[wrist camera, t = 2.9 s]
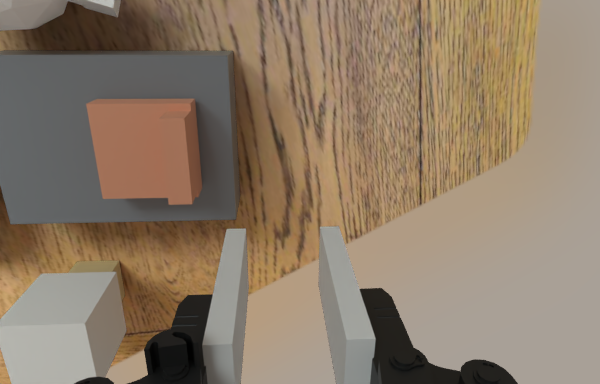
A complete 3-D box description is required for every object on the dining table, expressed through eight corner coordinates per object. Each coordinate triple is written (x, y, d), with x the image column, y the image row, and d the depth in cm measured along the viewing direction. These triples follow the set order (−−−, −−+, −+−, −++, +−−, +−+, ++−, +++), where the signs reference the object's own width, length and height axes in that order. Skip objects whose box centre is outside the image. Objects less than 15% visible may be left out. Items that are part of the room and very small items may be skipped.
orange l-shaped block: (111, 189, 34) (89, 212, 30) (97, 98, 31) (70, 111, 27) (202, 187, 34) (192, 210, 30) (195, 98, 32) (183, 110, 28)
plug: (74, 306, 44) (14, 393, 34) (61, 251, 42) (-7, 326, 31) (138, 304, 44) (99, 389, 34) (130, 249, 42) (84, 323, 32)
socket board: (41, 200, 40) (10, 224, 35) (6, 50, 35) (-35, 55, 30) (240, 196, 41) (236, 219, 36) (233, 50, 36) (227, 55, 31)
